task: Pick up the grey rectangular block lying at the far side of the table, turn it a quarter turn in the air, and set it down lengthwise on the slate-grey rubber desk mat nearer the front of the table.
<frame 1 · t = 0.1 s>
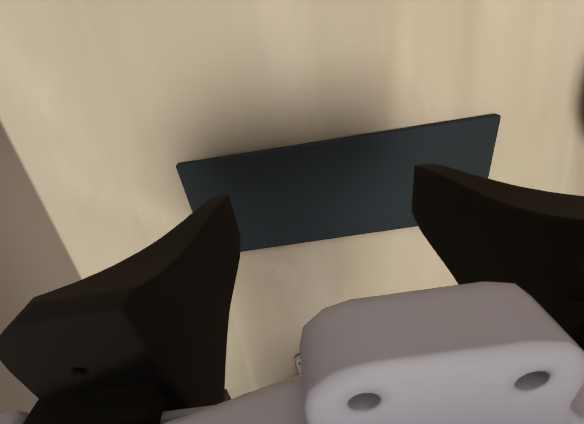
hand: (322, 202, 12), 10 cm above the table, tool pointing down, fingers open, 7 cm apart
desk mat: (337, 190, 23), on the table
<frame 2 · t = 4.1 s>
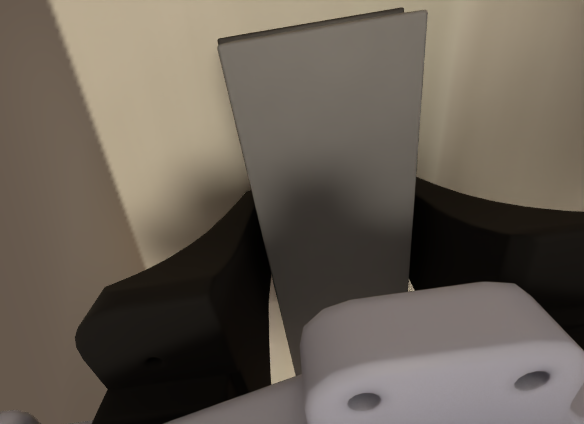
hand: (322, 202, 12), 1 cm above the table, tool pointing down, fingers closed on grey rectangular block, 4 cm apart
grey rectangular block: (317, 186, 13), on the table, touching gripper
when the fingers open (2 cm above the table, at t = 11.0 s): grey rectangular block stays where it is, resting on desk mat.
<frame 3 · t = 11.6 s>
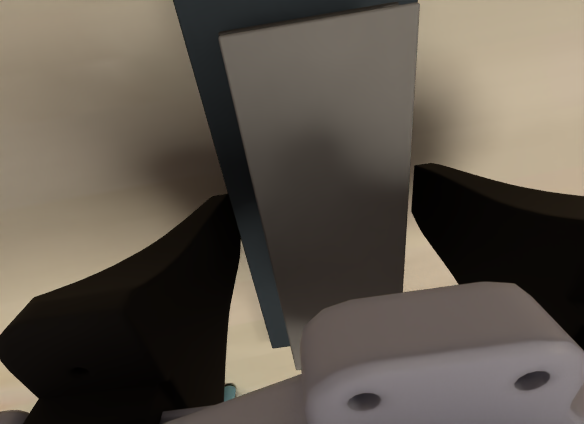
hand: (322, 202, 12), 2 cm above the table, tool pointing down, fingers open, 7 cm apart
grey rectangular block: (316, 180, 13), point 1 cm above the table, touching desk mat
desk mat: (316, 177, 14), on the table
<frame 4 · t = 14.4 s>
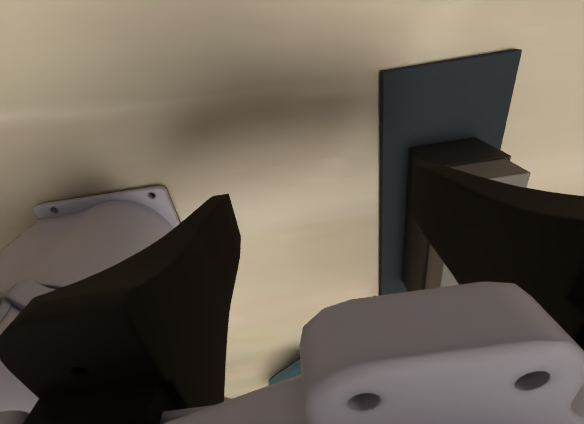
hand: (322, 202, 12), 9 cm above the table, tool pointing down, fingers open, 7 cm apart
grey rectangular block: (433, 218, 23), point 1 cm above the table, touching desk mat
chair: (314, 366, 34), on the table
desk mat: (430, 215, 24), on the table
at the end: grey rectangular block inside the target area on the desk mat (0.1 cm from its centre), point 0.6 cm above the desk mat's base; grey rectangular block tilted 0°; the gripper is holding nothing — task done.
